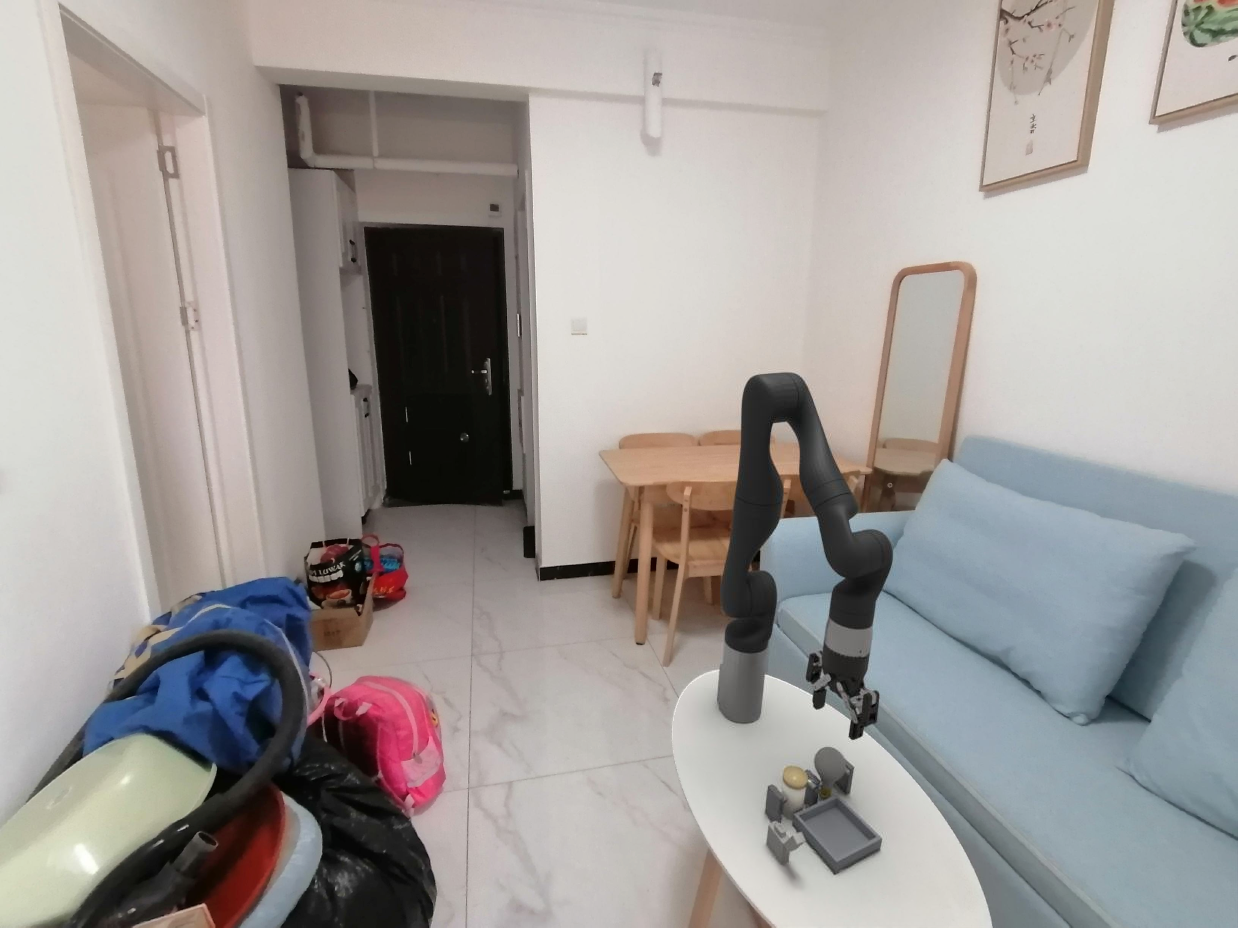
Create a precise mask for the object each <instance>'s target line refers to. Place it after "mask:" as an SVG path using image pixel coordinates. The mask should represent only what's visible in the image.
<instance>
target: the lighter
mask: <svg viewBox="0 0 1238 928" xmlns="http://www.w3.org/2000/svg"><path fill="white" fill-rule="evenodd" d="M765 842H766V843H765V845H766V847H767V848H768V849H769V851H770V852H771V853H772V855H773V856H774V857H775V859H776V860H777V862H779V864H780V865H783V864H786V863H788V862H789V860H790V855H791V852H793V851H796V850H797V849H799V848H800V847H801V846H802V845H804V843H805V842H806V840H805V838H804V836H803V834H802V832H799V833H798V832H797V833H795V834H792V835H791V836H789V835H788V834H787V829H785V827H784V826H783V824H782V822H781V823H778V822H777V821H774V822H772V821H771V822H769V823H768V825H767V835H766V841H765Z"/></svg>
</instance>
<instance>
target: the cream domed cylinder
mask: <svg viewBox="0 0 1238 928" xmlns="http://www.w3.org/2000/svg"><path fill="white" fill-rule="evenodd" d="M781 779H782V782H781V789H780V792H781V793H782V794H783V795H784V796H785V797H786V798H787V801H786V802H785V803H784V805H783V813H782V817H784V818H785V819H787V820H789V821H793V815H794V814H795V813H797V812H799V811H802V810H804V804H805V802H804V798H805V790H806V786H807V780H808V776H807V773H806V772H805V770H804V769H803V768H802V767H799V766H797V765H788V766H785V767H784V768H783V771H782V778H781Z"/></svg>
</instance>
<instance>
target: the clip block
mask: <svg viewBox="0 0 1238 928" xmlns="http://www.w3.org/2000/svg"><path fill="white" fill-rule="evenodd" d="M844 759H845V763H846V770H845V773H844V775H843V776H842V777H841V778H840V779H839V780H837V781H836V782H835V783H834V786H836V787H837V789H839V790H840V791H841V792H842V793H843V794H844V795H845V796H848V795H849V794H851V788H852V783H853V779H854V778H853V777H854V771H855V766H854V765H852V763H850V761H848V760H847V759H846V758H845V757H844ZM804 771H805V772H806V773H807V776H808V780H807V786H806V790H805V798H804V804H806V805H807V807H810V806H813V805H815V804H817V803H819V802H818V801H819V794H820V792H819V790H820V787H822V785H823V783H822V782H821V779H820V778H818V777H817V776H816V775H815V774H814V773H813V772H812V770H810V769H808V768H807V769H805V770H804ZM786 801H787V798H786V797H785V796H784V795H783V794H782V793H781V789H779V788H778V786H776V785H775V784H771V783H770V785H767V789H766V799H765V805H764V806H765V807H764V815H765V816H766V817H768V819H769V820H770V821H771V822H774V821H777V822H778V823H781V824H782V819H783V815H782V813H783V805H784V803H785V802H786Z"/></svg>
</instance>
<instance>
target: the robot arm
mask: <svg viewBox="0 0 1238 928" xmlns="http://www.w3.org/2000/svg"><path fill="white" fill-rule="evenodd" d="M740 411H741V412H740V446H739V447H740V449H739V461H738V470H737V479H736V484H735V485H736V486H735V492H734V497H733V498H734V500H733V507H732V508H733V509H732V518H731V519H732V521H731V530H730V536H729V543H728V548H727V553H726V559H725V562H724V567H723V571H722V572H723V573H722V576H721V581H720V589H719V595H720V596H719V598H720V604H721V608H722V611H723V612H724V615H726V616H727V617H729V618H731V619H733V620H732V621H730V622H729V623H728V624H727V625H726V627H725V630H724V639H723V650H722V653H723V654H722V655H723V656H722V663H720V664H719V670H718V682H717V683H718V684H717V693H716V694H717V695H716V696H717V698H716V701H717V702H718V708H719V711H720V713H721V714H722V715H723V716H724V717H725V718H726V719H729V721H732V722H736V723H741V724H748V723H753V722H755V721H757V720H758V719H759V718H760V717H761V714H762V709H763V708H762V707H763V700H764V699H763V698H764V689H765V678H766V671H767V670H766V668H767V659H768V650H769V649H768V648H769V641H770V639H771V637H772V635H773V631H774V625H775V624H774V623H775V616H776V613H777V605H778V589H777V585H776V581H775V579H774V577H773V575H772V574H771V573H770V572H769V571H766V570H763V569H762V570H760V569H759V570H750V567H751V564H752V563H753V560H754V558H755V556H756V555H757V554H758V553H759V551H760V549H762V548H763V546H764V545H765V544H766V542H767V541H768V540H769V539H770V537H771V536H772V535H773V533H774V532H775V531H776V528H777V527H778V524H779V523H780V519H781V516H782V510H783V509H782V507H783V502H784V494H785V492H784V491H785V490H784V489H785V488H784V485H783V481H782V478H781V475H780V474H779V472H778V469H777V467H776V465H775V464H774V461H773V458H772V454H771V437H772V436H771V435H772V430H773V425H774V424H777V423H778V424H779V423H787V424H788V425H789V426H790V429H791V430H792V431H793V433H794V435H795V436H796V439H797V442H798V448H799V464H798V473H799V474H798V475H799V482H800V484H801V485H800V486H801V488H802V492H803V494H804V497H806V499H807V502H808V503H809V506H810V507H811V509H812V512H813V513H814V515H815V517H816V520H817V522H818V529H819V532H820V538H821V544H822V546H823V547H822V548H823V552H824V553H823V554H824V556H825V559H826V561H827V563H828V565H829V567H830V568H831V569H832V570H833V571H834V573H835V574H837V575H839V576H840V577H841V578H844V579H842V580H841V581H839V582H838V583H836V584H835V585H834V586H833V588H832V592H831V595H830V603H829V611H828V617H827V621H826V624H825V628H824V629H825V630H824V637H823V646H822V650H819V651H815V652H811V653H809V656H808V661H807V666H806V667H807V668H806V674H805V680H806V682H807V683H810V684H811V685H812V686H811V687H812V690H813V691H812V700H811V701H812V707H813V708H814V709H815V710H821V709H823V708H824V707H825V706H826V698H827V692H828V691H827V689H826V688H827V687H828V688H829V690H830V691H831V692H832V693H834V694H836V695H837V696H838V697H839V698H840V699H841V700H843V701H842V702H843V704H844V707H845V709H847V710H848V711H849V715H850V717H851V720H850V724H849V730H848V738H849V739H850V740H851V741H854V740H857V739H860V738H862V737H863V735H864V730H865V728H867V727H869V726H871V725H874V724H877V722H878V715H879V704H880V703H879V702H880V692H879V690H876V689H874V690H870V689H869V688H868V687H866V685H865V684H866V683H865V680H864V679H865V676H866V674H867V673H868V668H869V663H870V662H869V661H870V656H871V650H872V644H873V643H872V642H873V636H874V634H873V633H874V629H873V628H874V619H875V614H876V613H875V612H876V605H877V601H878V598H879V596H880V595H881V593H882V590H883V588H884V586H885V583H886V582H887V578H888V576H889V574H890V571H891V569H892V566H893V561H894V551H893V546H892V544H891V543H892V542H891V541H890V539H889V538H888V536H887V535H886V533H885V534H884V532H883V531H880V530H878V529H872V528H867V529H863V530H859V531H854V532H853V531H852V528H851V524H850V520H851V519H852V518H855V516H857V514H858V512H859V510H860V509H859V503H858V501H857V499H856V497H855V495H854V494H853V492H852V490H851V488H850V487H849V485H848V483H847V480H846V479H845V477H844V475H843V473H842V472H841V470H840V467H839V466H838V464H837V462H836V460H835V457H834V456H833V452H832V450H831V447H830V445H829V442H828V439H827V437H826V433H825V429H824V428H823V424H822V422H821V419H820V416H819V415H820V414H818V410H817V408H816V405H815V402H814V398H813V396H812V393H811V391H810V389H809V387H808V385H807V383H806V381H805V380H804V378H803V377H802V376H800V374H797V373H795V372H789V371H788V372H786V371H785V372H771V373H770V372H769V373H759V374H755V375H753V376H751V377H750V378H749V379H748V380H747V382H746V384H745V385H744V388H743V392H742V397H741V410H740ZM822 672H823V676H822V677H821V675H822ZM855 697H856V699H855V701H851V699H854V698H855ZM857 710H858V711H857ZM858 712H859V713H858Z"/></svg>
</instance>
